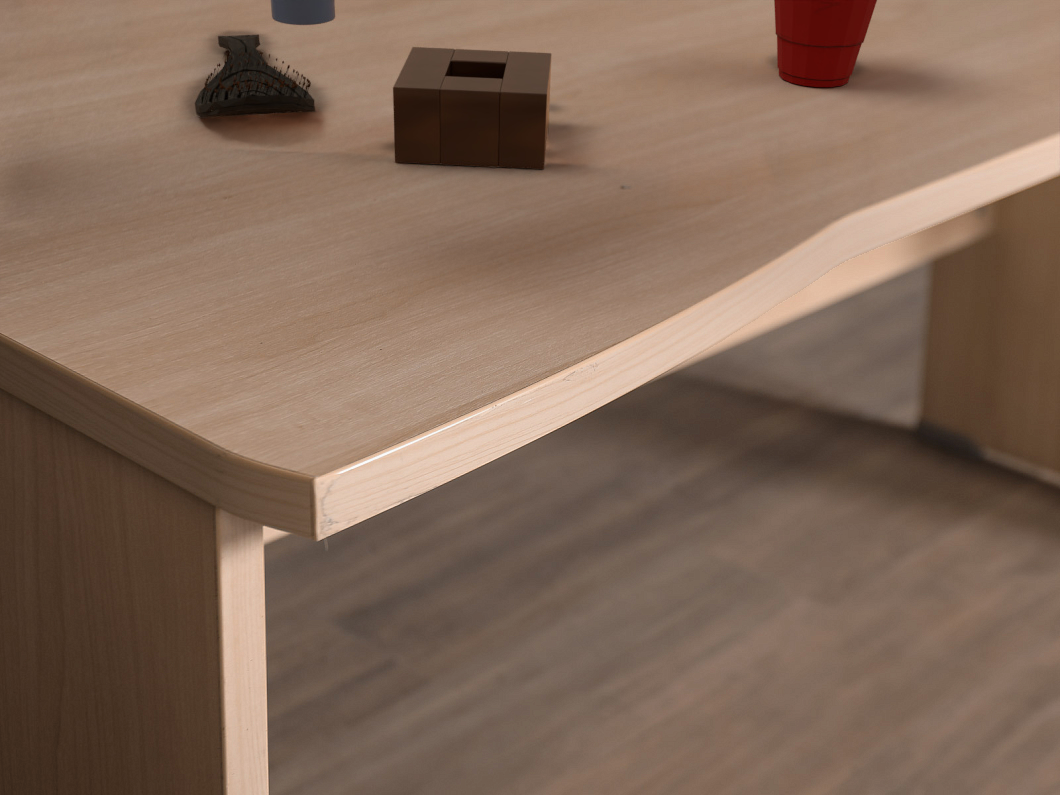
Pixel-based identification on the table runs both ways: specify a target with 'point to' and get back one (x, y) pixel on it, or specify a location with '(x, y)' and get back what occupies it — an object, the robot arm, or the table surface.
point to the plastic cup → (820, 39)
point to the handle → (303, 11)
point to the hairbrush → (250, 84)
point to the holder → (472, 108)
